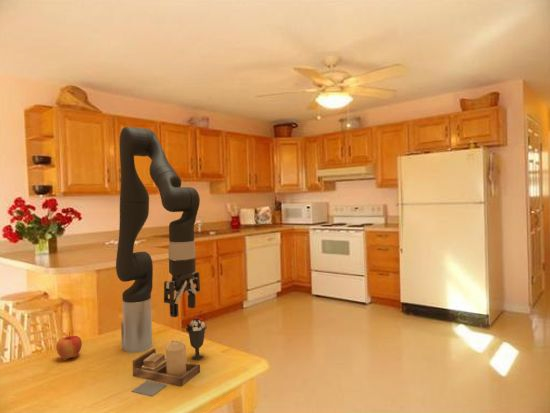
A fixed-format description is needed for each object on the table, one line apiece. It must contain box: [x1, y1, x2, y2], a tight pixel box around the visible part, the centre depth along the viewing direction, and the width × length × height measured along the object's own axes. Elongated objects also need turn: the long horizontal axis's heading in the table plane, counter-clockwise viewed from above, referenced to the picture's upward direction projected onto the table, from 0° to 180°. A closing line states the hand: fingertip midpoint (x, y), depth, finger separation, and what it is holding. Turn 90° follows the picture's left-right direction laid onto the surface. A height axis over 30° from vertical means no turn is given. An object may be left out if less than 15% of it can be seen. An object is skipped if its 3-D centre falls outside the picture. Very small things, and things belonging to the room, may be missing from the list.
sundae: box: [185, 310, 208, 361], centre depth 122 cm, size 7×7×15 cm
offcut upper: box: [144, 352, 166, 368], centre depth 113 cm, size 4×5×2 cm
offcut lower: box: [141, 360, 166, 372], centre depth 113 cm, size 4×6×2 cm
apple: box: [55, 332, 83, 361], centre depth 125 cm, size 7×7×8 cm
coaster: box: [130, 380, 168, 397], centre depth 103 cm, size 7×6×1 cm
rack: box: [132, 348, 201, 387], centre depth 111 cm, size 17×9×5 cm, turn 67°
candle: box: [165, 340, 187, 377], centre depth 110 cm, size 6×6×10 cm
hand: (183, 312), depth 110 cm, fingers open, 8 cm apart
